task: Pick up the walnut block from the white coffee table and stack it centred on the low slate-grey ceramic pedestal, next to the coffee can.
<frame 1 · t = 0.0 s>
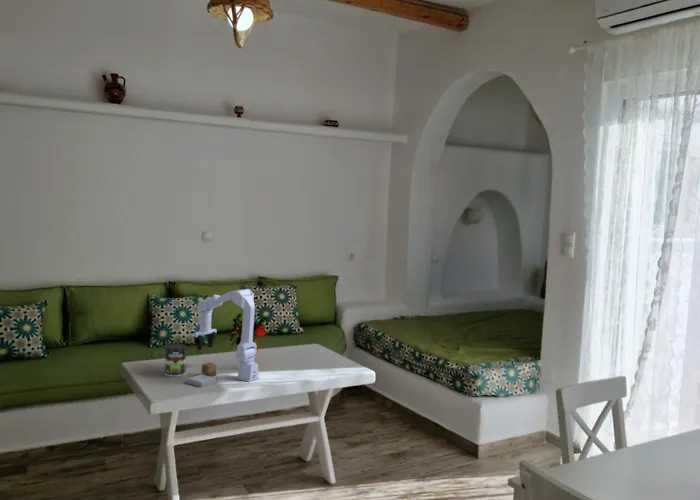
hand: (204, 348, 315), 10 cm above the table, fingers open, 7 cm apart
walnut block: (208, 376, 302), on the table
coffee can: (175, 374, 303), on the table
pedestal: (201, 382, 291), on the table
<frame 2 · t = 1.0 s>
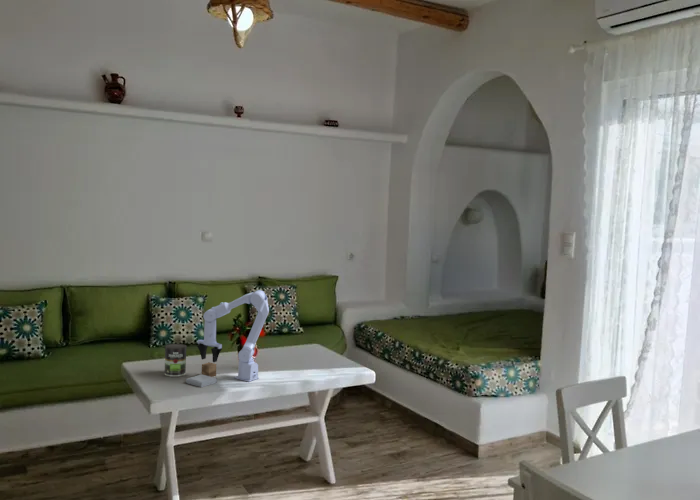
hand: (209, 360, 302), 8 cm above the table, fingers open, 7 cm apart
nothing on the table moved.
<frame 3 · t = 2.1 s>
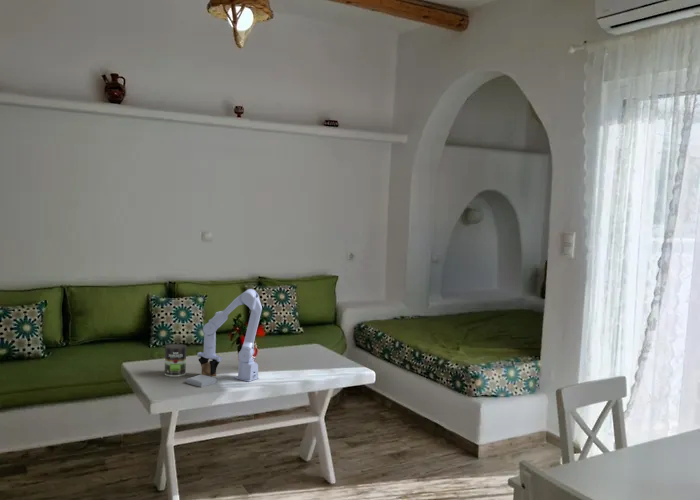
hand: (208, 373, 302), 1 cm above the table, fingers closed on walnut block, 5 cm apart
walnut block: (208, 375, 302), on the table, touching gripper
everything else where it was.
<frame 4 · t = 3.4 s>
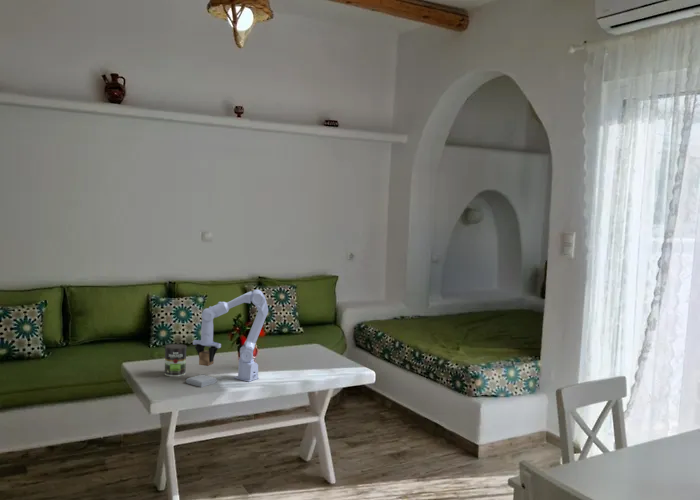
hand: (206, 360, 297), 9 cm above the table, fingers closed on walnut block, 5 cm apart
walnut block: (206, 364, 297), point 7 cm above the table, touching gripper
everything else where it was.
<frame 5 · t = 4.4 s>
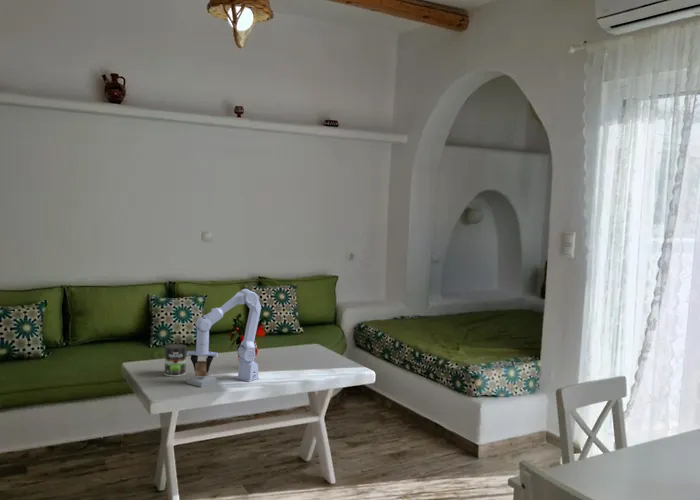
hand: (201, 371, 291), 6 cm above the table, fingers closed on walnut block, 5 cm apart
walnut block: (201, 374, 291), point 4 cm above the table, touching gripper
everything else where it was.
when the fingers open (5 cm above the table, at t = 5.1 s): walnut block stays where it is, resting on pedestal.
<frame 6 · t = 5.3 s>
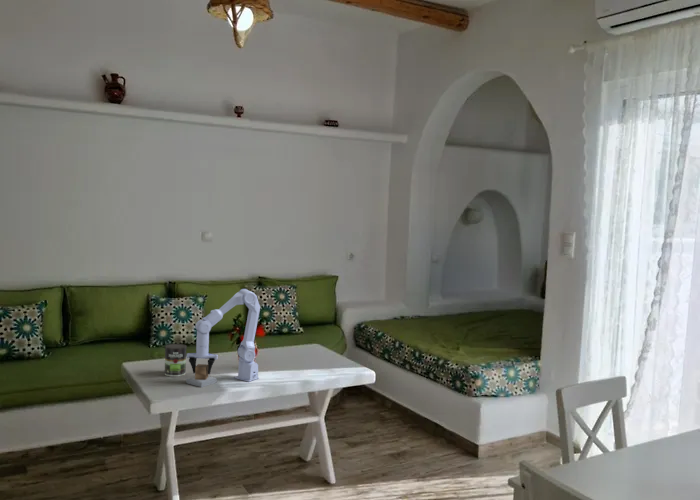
hand: (201, 373, 291), 5 cm above the table, fingers open, 6 cm apart
walnut block: (201, 378, 291), point 2 cm above the table, touching pedestal
everything else where it was.
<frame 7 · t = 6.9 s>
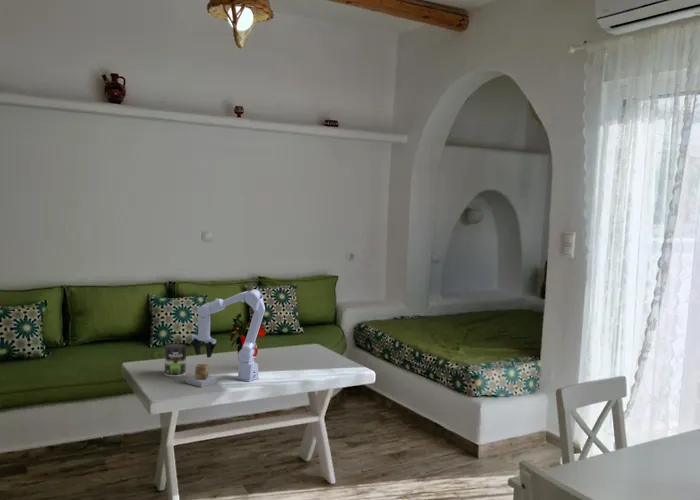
hand: (203, 355, 302), 10 cm above the table, fingers open, 7 cm apart
nothing on the table moved.
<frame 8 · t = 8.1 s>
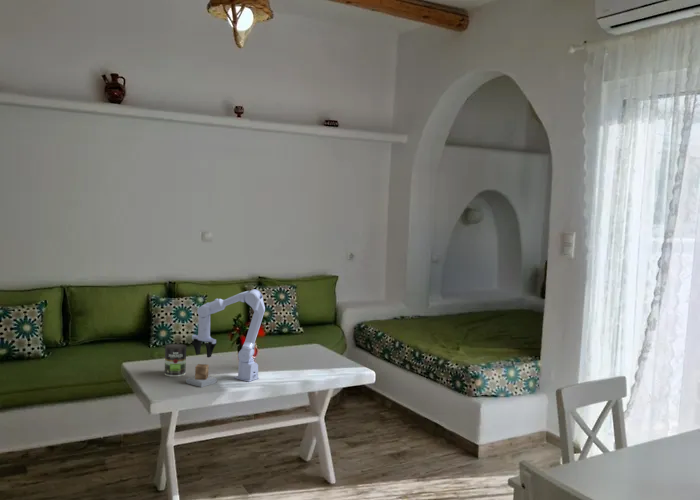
hand: (203, 355, 302), 10 cm above the table, fingers open, 7 cm apart
nothing on the table moved.
at the end: walnut block inside the target area on the pedestal (0.2 cm from its centre), point 2.2 cm above the pedestal's base; walnut block tilted 0°; the gripper is holding nothing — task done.
